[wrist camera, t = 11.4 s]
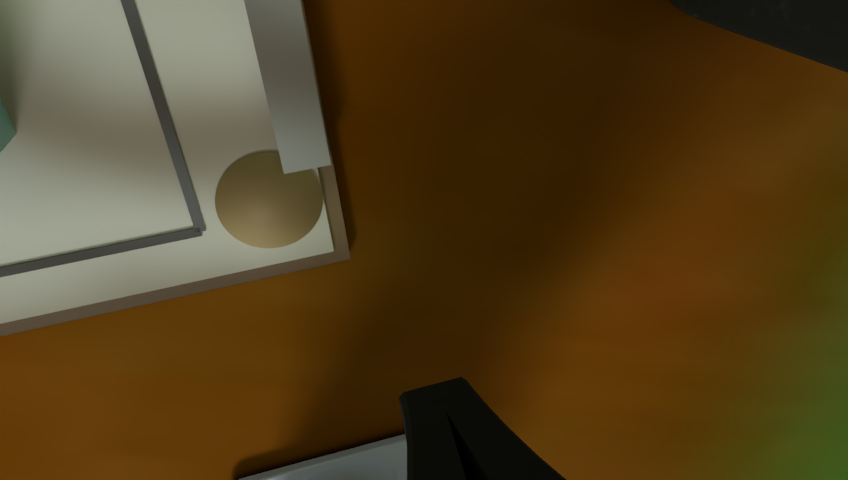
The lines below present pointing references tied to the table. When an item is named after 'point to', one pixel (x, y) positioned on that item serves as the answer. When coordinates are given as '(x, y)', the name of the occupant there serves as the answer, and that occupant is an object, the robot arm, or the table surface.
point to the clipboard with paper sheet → (157, 153)
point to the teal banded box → (5, 127)
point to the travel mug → (783, 24)
